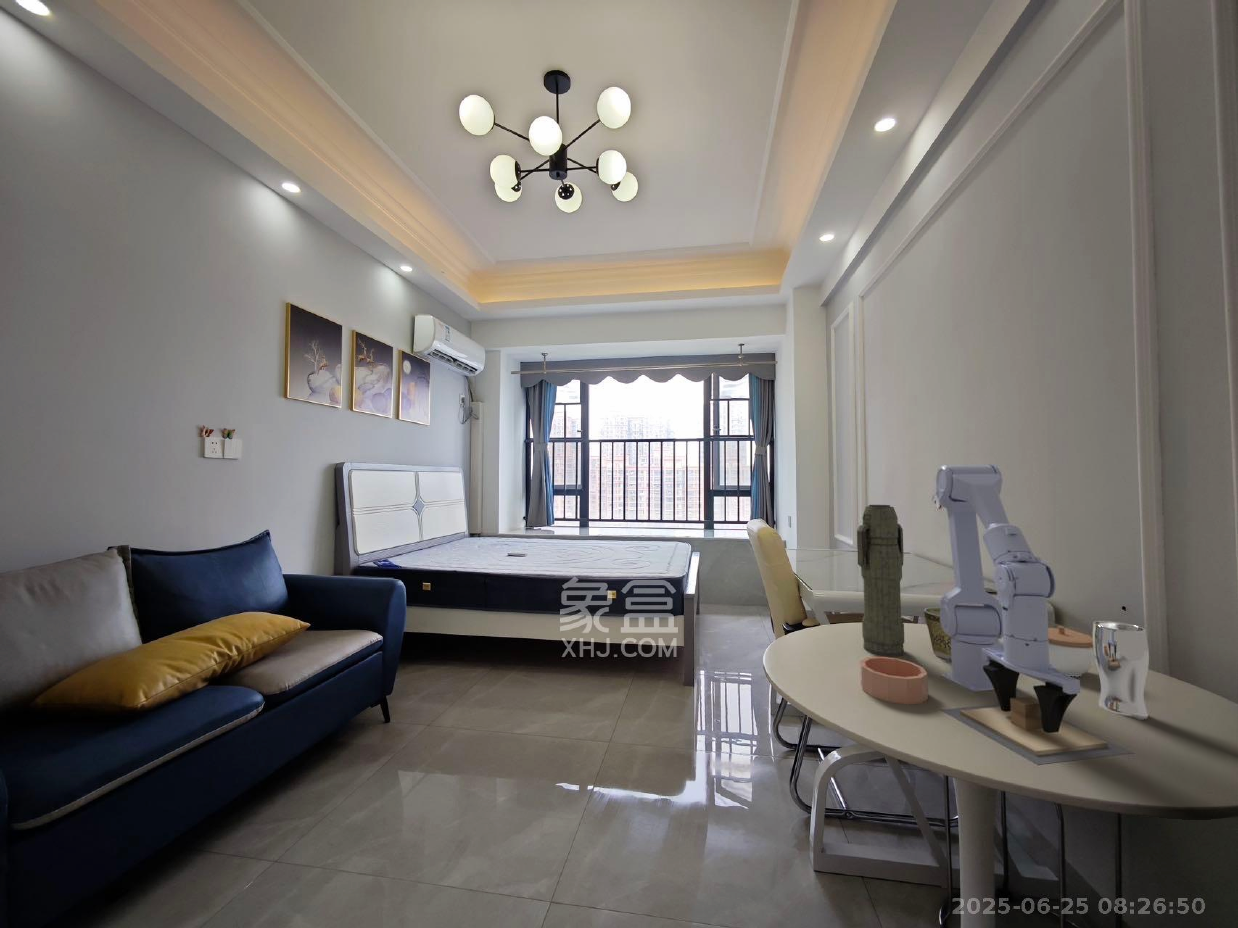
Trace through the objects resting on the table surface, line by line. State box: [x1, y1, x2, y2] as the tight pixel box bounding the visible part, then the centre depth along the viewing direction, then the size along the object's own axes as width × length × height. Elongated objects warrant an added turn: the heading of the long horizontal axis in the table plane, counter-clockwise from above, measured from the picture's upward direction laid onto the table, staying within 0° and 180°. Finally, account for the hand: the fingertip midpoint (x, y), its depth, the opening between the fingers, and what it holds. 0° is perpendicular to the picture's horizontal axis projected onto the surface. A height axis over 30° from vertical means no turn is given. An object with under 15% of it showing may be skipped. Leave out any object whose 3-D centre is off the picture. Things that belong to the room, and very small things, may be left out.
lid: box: [960, 696, 1108, 755], centre depth 79 cm, size 13×13×5 cm
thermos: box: [856, 504, 905, 657], centre depth 119 cm, size 9×12×35 cm
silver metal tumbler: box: [1091, 620, 1150, 721], centre depth 86 cm, size 7×7×15 cm
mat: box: [940, 703, 1135, 766], centre depth 79 cm, size 17×17×1 cm
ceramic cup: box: [923, 606, 952, 661], centre depth 115 cm, size 13×10×10 cm
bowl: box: [859, 656, 929, 705], centre depth 94 cm, size 11×11×5 cm
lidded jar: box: [1048, 625, 1095, 678], centre depth 105 cm, size 11×11×9 cm
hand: (1028, 720), depth 79 cm, fingers open, 6 cm apart
